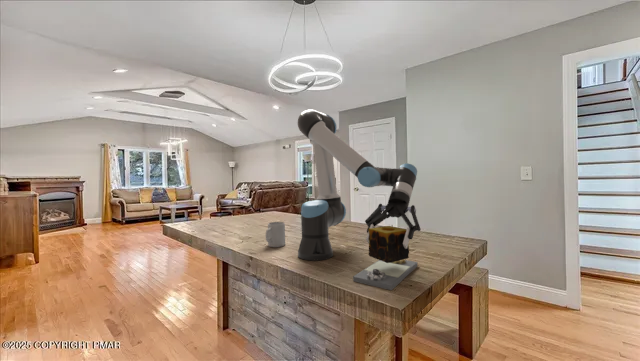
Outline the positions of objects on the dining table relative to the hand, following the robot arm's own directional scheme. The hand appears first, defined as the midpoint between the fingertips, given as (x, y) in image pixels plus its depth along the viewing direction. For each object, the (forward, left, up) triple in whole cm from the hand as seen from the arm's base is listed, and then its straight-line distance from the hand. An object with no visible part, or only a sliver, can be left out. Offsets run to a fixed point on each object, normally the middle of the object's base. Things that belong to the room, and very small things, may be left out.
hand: (385, 243), depth 94 cm
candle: (0, +2, -5) cm, 6 cm away
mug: (-61, +7, -11) cm, 63 cm away
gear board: (0, +2, -11) cm, 11 cm away
